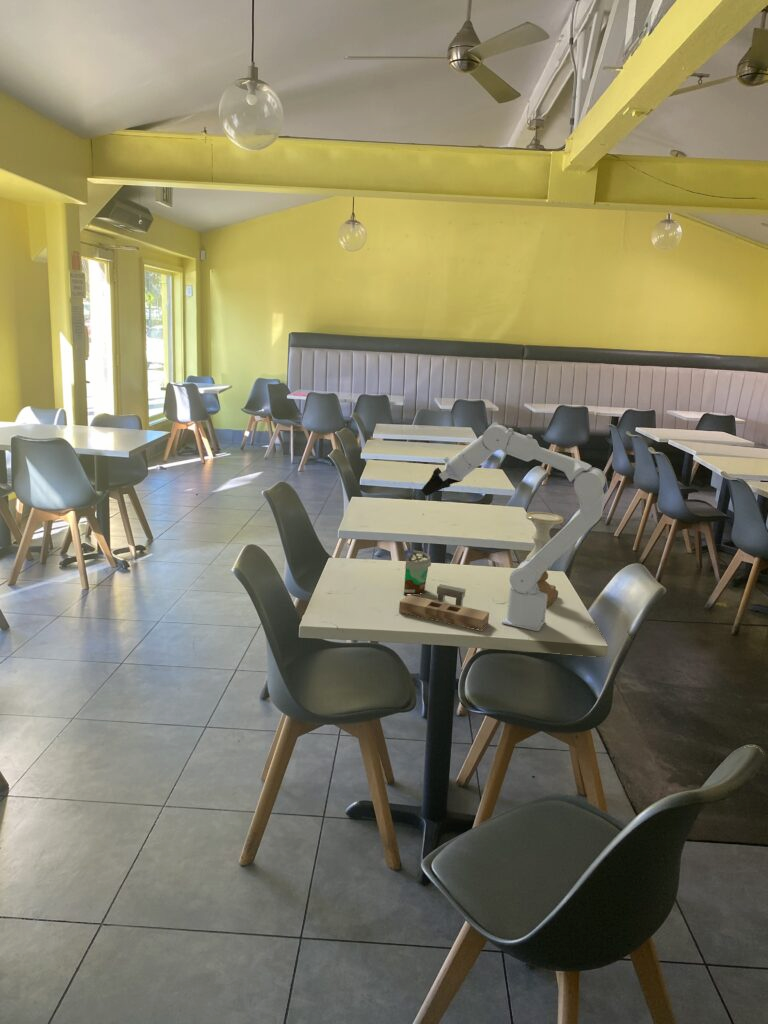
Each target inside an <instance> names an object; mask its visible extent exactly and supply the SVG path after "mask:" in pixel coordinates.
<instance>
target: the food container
mask: <svg viewBox="0 0 768 1024" xmlns="http://www.w3.org/2000/svg"><path fill="white" fill-rule="evenodd" d="M430 557H431V556H430V555H429V554H427V553H425V552H423V551H419V550H415V549H413V550H412V555H411V556H409V559H408V560H405V567H404V569H405V572H404V588H403V595H404V594H419V595H421V594H420V593H422V594H424V593H425V589H426V582H427V577H428V572H429V567H431V565H432V562H431V558H430ZM423 592H424V593H423Z"/></svg>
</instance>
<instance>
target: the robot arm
mask: <svg viewBox="0 0 768 1024" xmlns="http://www.w3.org/2000/svg"><path fill="white" fill-rule="evenodd" d="M533 436H534V435H532V434H530V433H528V434H526V435H524V434H521V433H519V432H516V431H514V429H513V428H511V427H509V428H508V427H506V426H504V425H501V424H498V425H497V424H496V425H493V426H490V427H488V428H487V429H485V430H484V431H483V433H482V434H481V435H479V437H478V438H477V439H474V440H473V441H472V442H471V443H469V444H468V445H466V447H464V448H463V449H462V450H460V451H459V452H457V454H455V455H454V456H453V457H452V458H449V457H448V456H446V457H445V458H443V461H444V462H445V463H444V468H443V470H441V469H440V468H439V467H437V468H435V469H434V470H433V471H432V472H433V473H432V474H431V477H430V478H429V479H428V481H427V482H426V483H425V484H424V486H423V487H422V489H421V491H422V493H423V494H424V495H425V496H426V497H428V496H430V495H432V494H434V493H435V492H439V491H441V490H443V489H445V488H447V489H448V488H450V487H451V485H452V484H455V483H456V484H457V483H460V482H463V480H464V478H465V477H466V476H468V475H469V474H470V473H472V472H473V471H474V470H475V469H477V468H478V467H479V466H481V465H482V464H483V463H485V462H486V461H487V460H488V459H489V458H490V457H491V456H492V455H493V454H494V453H496V452H497V451H499V450H501V451H502V453H504V454H506V455H509V456H512V457H514V458H516V459H520V460H522V461H525V462H530V461H532V460H535V461H538V462H541V463H543V464H545V465H548V466H550V467H552V468H554V469H556V470H559V471H561V472H563V473H564V474H565V475H566V478H567V479H568V481H569V482H570V483H571V482H573V488H574V492H575V494H576V496H577V499H578V500H579V501H578V502H579V512H578V513H577V514H575V516H574V517H572V518H571V520H570V521H569V522H567V524H566V525H564V526H563V527H562V529H560V530H558V532H557V533H556V534H554V536H553V537H551V540H550V541H549V542H548V543H547V544H546V545H545V546H544V547H543V548H542V549H541V550H540V551H539V552H538V553H536V554H535V555H534V556H533V557H532V558H531V559H528V560H526V559H524V560H523V561H521V562H520V563H519V565H518V566H517V567H516V568H515V569H514V570H513V571H512V572H511V573H510V576H509V583H510V587H509V594H508V595H509V596H508V603H507V613H506V616H504V618H503V619H502V621H501V624H504V625H508V626H513V627H516V628H521V629H526V630H529V631H533V632H534V631H535V632H539V631H540V630H541V629H542V627H543V625H544V624H545V622H546V611H547V607H546V606H547V594H545V593H542V592H540V591H539V587H538V584H537V582H538V581H539V580H540V578H541V576H542V574H543V573H544V572H545V570H546V569H547V568H548V567H549V566H551V565H552V566H553V564H554V563H555V562H556V561H557V560H558V559H559V558H560V557H561V556H563V554H565V553H566V552H567V550H569V549H570V548H571V547H572V546H573V545H574V544H575V543H576V542H577V541H578V540H579V539H580V538H581V537H583V536H584V535H585V534H586V533H587V532H588V531H589V530H590V529H591V528H592V527H593V526H594V525H595V524H596V523H598V521H600V519H601V518H602V516H603V512H604V507H605V504H606V503H605V502H606V498H607V493H608V490H609V486H608V481H607V480H608V479H607V476H606V474H605V473H604V471H603V470H602V469H600V468H597V467H592V465H591V464H590V463H587V462H585V461H582V460H580V459H577V458H574V457H571V456H569V455H565V454H563V453H559V452H557V451H553V450H551V449H547V448H545V447H541V446H540V445H539V443H538V440H537V439H536V438H533ZM573 480H574V481H573ZM552 566H551V567H552Z"/></svg>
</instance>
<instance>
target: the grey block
mask: <svg viewBox="0 0 768 1024" xmlns="http://www.w3.org/2000/svg"><path fill="white" fill-rule="evenodd" d="M436 589H437V590H436V595H437V601H440V602H444V603H446V602H445V600H446V597H450V598H453V599H454V598H455V604H454V605H458V606H464V605H463V603H464V598H465V597H466V588H463V587H462V588H461V587H455V586H451V585H447V584H441V583H440V584H439V585H438V586H437V588H436Z"/></svg>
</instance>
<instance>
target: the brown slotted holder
mask: <svg viewBox="0 0 768 1024" xmlns="http://www.w3.org/2000/svg"><path fill="white" fill-rule="evenodd" d="M398 606H399V608H398V613H399V612H401V613H400V614H403V613H406V614H405V615H408V614H411V615H410V616H412V615H414V616H413V617H417V616H419V617H418V618H421V617H423V618H422V619H425V618H428V619H427V620H430V619H433V620H432V621H434V620H438V621H437V622H439V621H442V622H441V623H443V622H446V623H445V624H447V623H450V624H449V625H452V624H454V625H453V626H456V625H459V626H458V627H461V626H464V627H463V628H465V627H469V628H474V629H479V630H482V629H483V628H484V627H485V626H486V627H487V626H488V625H489V619H490V612H489V611H486V610H485V611H484V610H480V609H476V608H472V607H467V606H464V605H462V606H458V605H455V604H454V603H453V604H452V603H448V602H440V601H438V600H434V599H430V598H426V597H420V596H418V595H405V597H403V599H401V600H400V601H399V605H398ZM486 627H485V628H486ZM469 628H468V629H469ZM485 628H484V629H485ZM474 629H473V630H474ZM484 629H483V630H484ZM483 630H482V631H483Z"/></svg>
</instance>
